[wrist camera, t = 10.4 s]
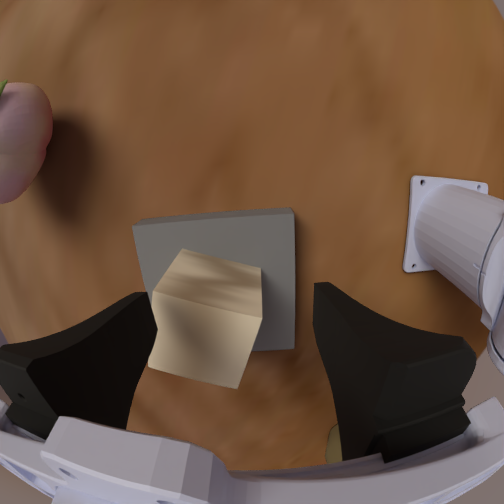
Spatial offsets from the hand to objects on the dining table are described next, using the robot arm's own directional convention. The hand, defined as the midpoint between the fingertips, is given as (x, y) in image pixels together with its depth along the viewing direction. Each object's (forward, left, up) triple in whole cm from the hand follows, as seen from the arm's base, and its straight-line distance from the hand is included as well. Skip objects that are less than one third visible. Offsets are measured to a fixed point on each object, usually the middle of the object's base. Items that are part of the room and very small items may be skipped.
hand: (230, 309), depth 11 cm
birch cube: (+2, +3, -7) cm, 8 cm away
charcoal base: (+2, +3, -10) cm, 11 cm away
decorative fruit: (+17, -11, -10) cm, 22 cm away
